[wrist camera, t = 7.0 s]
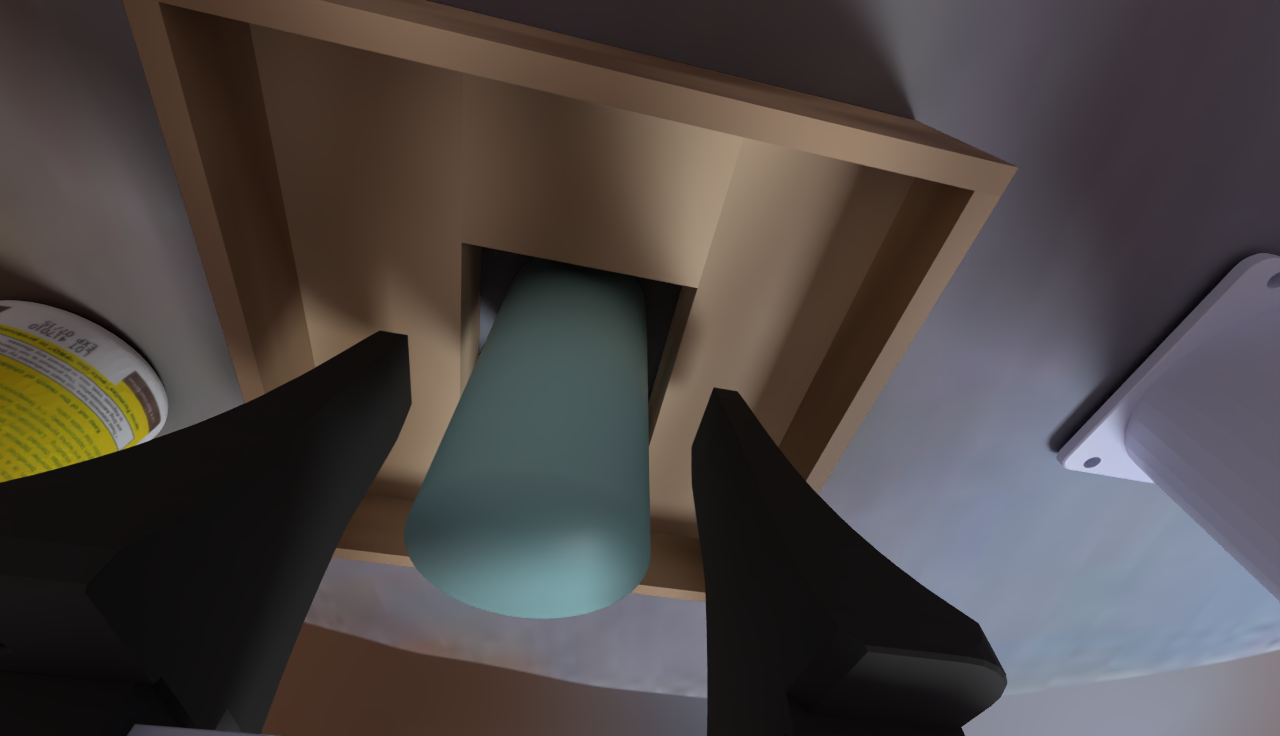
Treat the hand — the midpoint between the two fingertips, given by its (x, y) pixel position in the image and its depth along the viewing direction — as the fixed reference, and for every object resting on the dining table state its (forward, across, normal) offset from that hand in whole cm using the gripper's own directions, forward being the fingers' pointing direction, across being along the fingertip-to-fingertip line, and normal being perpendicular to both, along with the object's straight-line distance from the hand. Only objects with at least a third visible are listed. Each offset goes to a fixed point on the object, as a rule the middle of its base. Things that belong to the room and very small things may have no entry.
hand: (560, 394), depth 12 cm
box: (+3, 0, 0) cm, 3 cm away
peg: (+3, 0, 0) cm, 3 cm away
